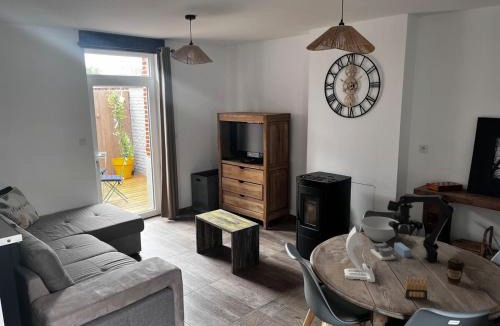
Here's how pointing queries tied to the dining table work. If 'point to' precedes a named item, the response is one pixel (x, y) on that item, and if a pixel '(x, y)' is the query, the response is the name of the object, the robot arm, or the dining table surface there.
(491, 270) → the dining table surface
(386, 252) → the white grey bracket mount
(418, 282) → the ammunition clip
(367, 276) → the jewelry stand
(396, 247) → the blue tapered block
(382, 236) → the decorative bowl
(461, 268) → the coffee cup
